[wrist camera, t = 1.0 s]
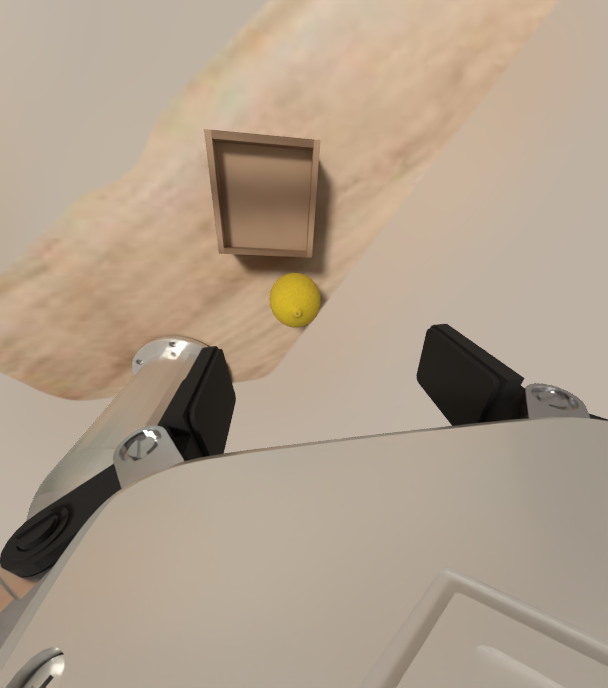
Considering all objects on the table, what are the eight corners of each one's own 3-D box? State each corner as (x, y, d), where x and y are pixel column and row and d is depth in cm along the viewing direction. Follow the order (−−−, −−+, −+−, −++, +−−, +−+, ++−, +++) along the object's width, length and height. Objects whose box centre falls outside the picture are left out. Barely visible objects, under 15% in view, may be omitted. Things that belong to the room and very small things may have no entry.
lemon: (324, 289, 29) (337, 314, 23) (292, 317, 31) (295, 349, 24) (294, 255, 27) (299, 272, 20) (261, 287, 29) (255, 313, 22)
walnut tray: (307, 250, 27) (312, 257, 23) (227, 246, 26) (219, 253, 22) (314, 150, 22) (320, 140, 19) (217, 142, 22) (204, 129, 18)
